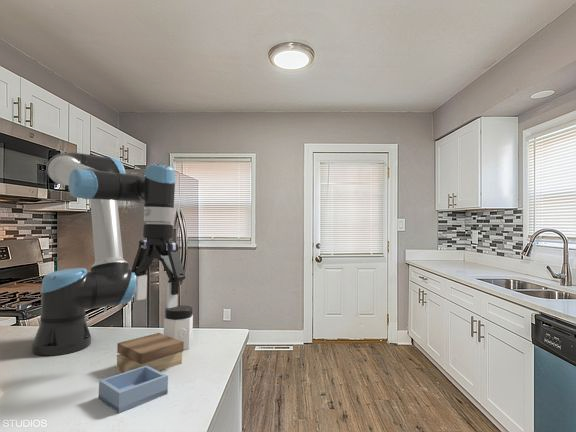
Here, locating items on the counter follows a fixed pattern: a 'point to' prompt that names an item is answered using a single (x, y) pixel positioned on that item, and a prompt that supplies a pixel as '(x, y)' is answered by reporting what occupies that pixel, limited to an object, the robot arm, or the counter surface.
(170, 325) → the jar
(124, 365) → the tan wooden block
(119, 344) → the lid
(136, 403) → the dish
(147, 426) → the counter surface
